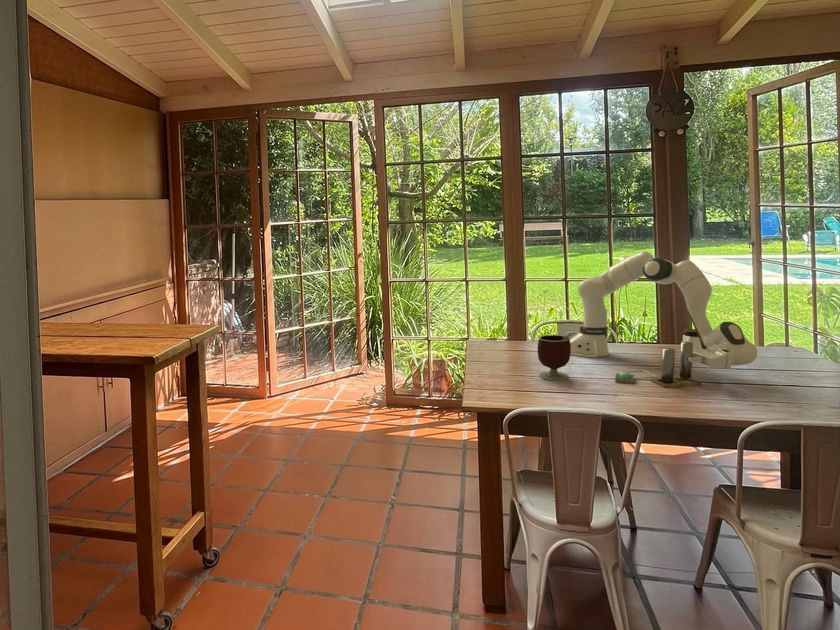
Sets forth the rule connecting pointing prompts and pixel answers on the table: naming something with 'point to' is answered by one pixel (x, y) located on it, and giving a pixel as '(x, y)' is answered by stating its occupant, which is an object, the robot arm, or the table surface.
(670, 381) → the cylinder
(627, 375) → the button
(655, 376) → the square tray
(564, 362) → the mate gourd
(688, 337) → the jar
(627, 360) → the table surface
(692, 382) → the tray
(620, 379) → the switch box
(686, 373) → the cylinder
